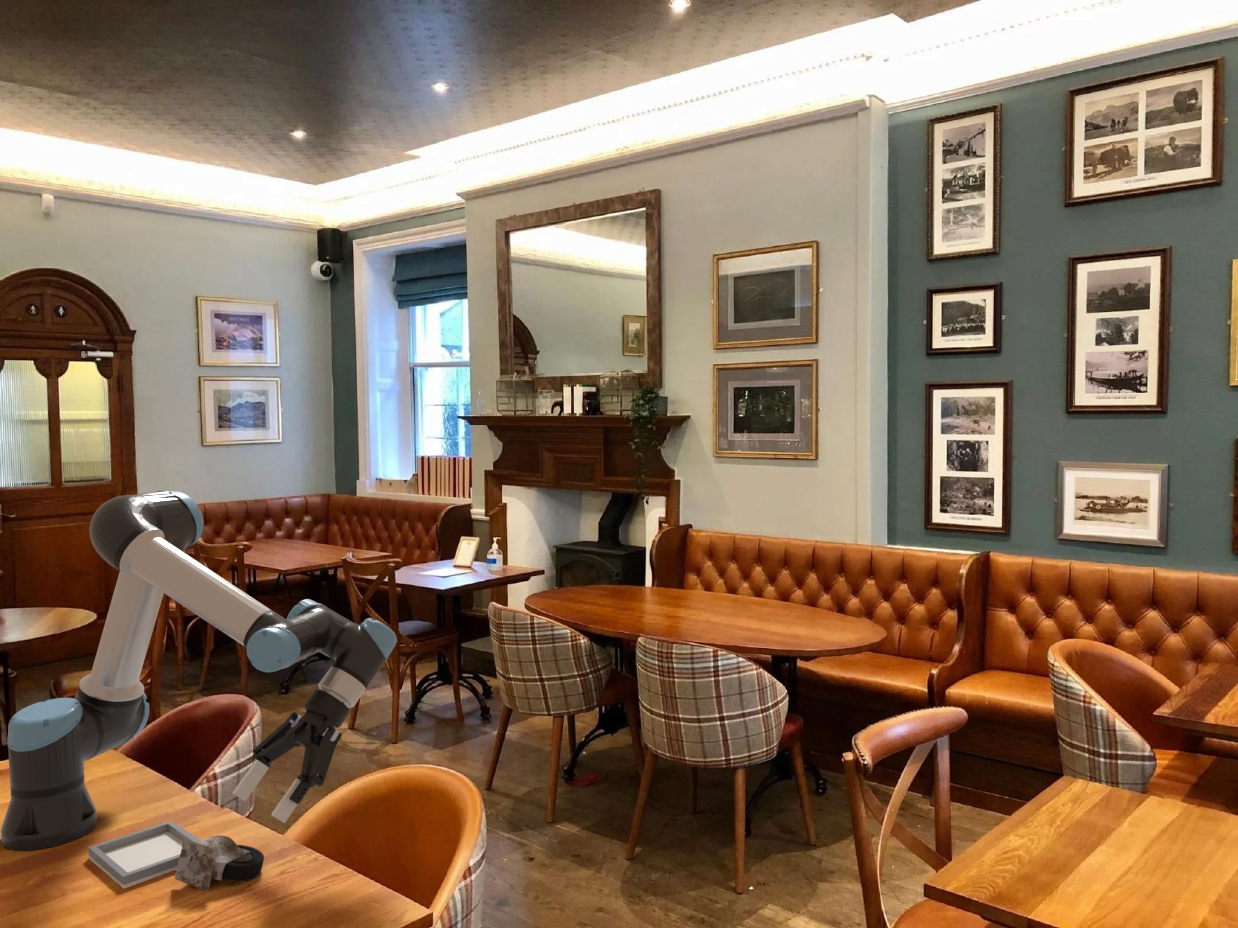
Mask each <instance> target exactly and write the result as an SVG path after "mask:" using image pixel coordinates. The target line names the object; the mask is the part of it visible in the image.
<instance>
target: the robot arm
mask: <svg viewBox="0 0 1238 928" xmlns="http://www.w3.org/2000/svg"><path fill="white" fill-rule="evenodd" d="M89 523H90V525H89V538H90V541H91V544H92V546H93V548H94V549H95V550H94V551H96V552H97V554H98V555H99V556H100V557H101V559H103V560H104V561H105V562H106V563H108V564H109V565H110V566H111V567H113V568H114V569H116V570H118V572H119V573H118V577H117V581H116V584H115V588H114V591H113V594H112V598H111V601H110V605H109V609H108V612H107V615H106V619H105V623H104V627H103V630H102V632H101V636H100V641H99V642H98V643H99V644H98V648H97V651H96V654H95V658H94V662H93V664H92V665H93V666H92V669H91V672H90V673H88V674H87V675H85V676H84V677H82V678H81V679H80V681H79V682H78V687H77V690H76V694H75V697H74V698H72V697H57V698H50V699H47V700H45V701H38V702H35V703H32V704H31V705H28V706H26V707H24V708H22V709H20V710H18V712H16V713H15V714H13V715H12V717H11V719H10V720H9V721H8V725H7V727H8V728H7V729H8V733H7V738H6V744H7V751H8V752H7V753H8V766H9V767H8V768H9V769H8V770H9V782H10V783H9V785H10V800H9V803H8V807H7V809H6V811H5V815H4V816H5V817H4V819H3V822H2V825H1V829H0V842H1V845H2V846H3V847H5V848H6V849H9V850H16V851H28V850H29V851H33V850H40V849H45V848H50V847H55V846H60V845H62V844H65V843H69V842H71V841H74V840H76V839H78V838H80V837H83V836H84V835H87V834H88V833H90V832H91V831H93V830H94V829H95V828H96V826H97V824H98V815H97V808H96V806H95V803H94V802H93V800H92V797H91V796H90V793H89V790H88V789H87V786H86V783H85V782H86V781H85V762H87V761H89V760H91V759H93V758H95V757H97V756H100V755H102V754H104V753H107V752H108V751H111V750H114V749H115V748H119V747H121V746H122V745H124V744H127V743H128V742H130V740H131V739H134V738H135V737H136V736H138V735H139V734H140V733H141V732H142V730H143V729H144V728H145V726H146V725H147V721H148V719H149V716H150V703H149V702H147V701H146V700H147V699H148V697H147V695H146V693H145V686H144V684H143V683H142V682H141V681H140V680H139V679H140V676H141V672H142V670H143V667H144V662H145V659H146V656H147V652H148V649H149V645H150V642H151V638H152V635H153V632H154V628H155V625H156V621H157V618H158V614H159V610H160V607H161V605H162V604H161V603H162V601H163V598H164V595H166V596H168V597H169V598H171V599H172V600H174V601H175V602H177V603H178V604H180V605H181V606H183V607H184V608H186V609H187V610H189V611H191V612H192V613H193V614H195V615H197V616H198V617H199V618H201V619H202V620H204V621H205V622H207V623H209V624H210V625H211V626H213V627H215V628H216V629H218V630H219V631H221V632H222V633H223V634H225V635H226V636H228V637H230V638H231V639H233V640H234V641H235V642H237V643H238V644H241V646H243V647H245V648H246V656H247V658H248V660H249V661H250V663H251V665H252V667H254V668H255V669H256V670H259V671H260V672H262V673H273V672H277V671H279V670H282V669H287V668H290V667H291V666H293V665H294V664H295V663H297V662H299V661H301V660H304V659H305V658H308V657H311V656H313V655H314V654H316V653H320V654H323V655H324V656H326V657H328V658H330V659H332V660H333V661H334V662H333V664H332V665H331V666H330V668H329V669H328V671H327V672H326V673H325V674H324V676H323V677H322V678H321V680H320V681H319V683H318V684H317V685H318V689H314V691H312V693H311V694H310V695H309V697H308V698H307V700H306V701H305V703H304V706H303V707H304V709H305V713H304V714H303V715H302V716H301V715H300V714H298V713H297V712H296V711H293V712H291V714H290V715H289V716H288V717H287V718H286V720H285V721H284V722H283V723H282V724H280V726H278V727H277V728H276V729H275V730H274V731H272V732H271V734H269V735H267V737H266V738H264V739H263V741H261V742H260V743H259V744H258V745H257V746H255V747H254V748H253V750H252V754H253V755H254V756H255V757H254V758H255V760H254V761H253V762H252V764H251V765H250V766H249V769H248V770H247V771H246V773H245V774H244V776H243V777H242V779H241V780H240V782H239V783H238V784H237V785H236V786H235V789H234V790H233V791H232V793H231V794H232V795H233V796H235V797H237V798H238V799H240V800H241V801H243V802H246V801H247V800H248V798H249V797H250V796H251V794H252V793H253V791H254V790H255V789H256V787H257V786H258V784H259V783H260V781H261V780H262V779H263V777H264V776H265V775H266V773H267V772H268V770H269V769H270V768H271V763H273V762H274V761H275V760H277V759H279V758H280V757H282V756H283V755H284V754H286V753H287V752H289V751H290V750H292V749H294V748H295V747H300V746H301V747H303V748H304V755H303V761H302V765H301V766H302V767H301V772H300V774H299V775H297V776H296V777H297V778H295V779H294V781H293V782H292V783H291V785H290V786H289V788H288V789H287V791H286V792H285V793H284V795H283V797H282V798H280V801H279V802H278V803H277V805H276V806H275V807H274V810H273V811H272V813H271V814H270V815H271V816H272V817H274V818H275V819H277V820H278V821H280V823H282V824H283V823H284V824H285V823H286V822H287V821H288V819H289V818H290V816H291V815H292V813H293V812H294V811H295V809H296V808H297V806H298V805H299V804H300V803H301V801H302V800H303V798H304V797H305V795H307V793H308V791H309V790H310V788H314V786H318V787H322V786H323V784H324V783H325V781H326V780H325V779H326V777H327V774H328V772H329V771H328V770H329V767H330V765H331V762H332V759H333V756H334V754H335V753H334V752H335V750H336V747H337V744H338V743H339V742H340V739H341V738H342V735H343V733H342V732H341V731H339V730H338V729H340V728H341V726H342V725H343V723H344V722H345V721H346V719H347V718H348V716H349V715H350V713H351V710H350V708H354V707H355V705H356V704H357V703H358V702H359V699H360V698H361V696H362V695H363V694H364V692H365V691H366V690H367V688H368V686H369V685H370V684H371V682H372V680H373V679H374V678H375V677H376V676H377V673H378V672H379V671H380V670H381V669H382V667H383V665H384V664H385V663H386V662H387V661H388V658H389V656H390V655H391V653H392V651H393V649H394V648H395V646H396V644H397V643H398V638H397V635H396V633H395V631H393V630H392V629H391V628H390V627H389V626H387V625H386V624H385V623H383V622H382V621H379V620H377V619H375V618H371V617H368V618H365V619H364V620H363V622H361V623H360V624H358V623H355V622H353V621H351V620H350V619H348V618H346V617H344V616H343V615H340V614H339V613H337V612H336V611H334V610H333V609H331V608H329V607H327V606H326V605H324V604H323V603H318V601H317V602H316V601H315V600H312V599H310V598H306V599H302V600H300V601H299V602H298V603H297V604H296V605H294V606H293V607H292V609H291V610H290V611H289V613H288V615H287V617H286V618H285V617H283V616H282V615H280V614H278V613H277V612H275V611H274V610H272V609H270V608H269V607H267V606H266V605H264V604H263V603H261V602H260V601H258V600H256V599H255V598H254V597H252V596H250V595H249V594H247V593H246V592H245V591H244V590H241V589H240V588H239V587H238V586H235V585H234V584H232V583H231V582H230V581H228V580H226V579H225V578H223V577H221V575H219V574H217V573H216V572H214V571H213V570H211V569H209V567H207V566H205V565H203V564H202V563H201V562H199V561H198V560H196V559H195V558H193V557H191V556H190V555H189V554H187V553H186V552H185V551H186V549H188V548H190V547H192V546H193V545H194V544H196V543H197V542H198V541H199V539H200V538H201V536H202V534H203V531H204V515H203V513H202V510H201V509H200V508H199V506H198V504H197V502H196V501H195V500H194V499H193V498H192V497H191V496H189V495H188V494H187V493H184V492H181V491H176V490H169V491H168V490H157V491H154V492H146V493H145V492H144V493H137V494H125V495H119V496H115V497H113V498H110V499H109V500H106V501H105V502H103V503H102V504H100V506H99V507H98V508H97V509H96V510H95V512H94V513H93V515H92V517H91V520H90V522H89Z"/></svg>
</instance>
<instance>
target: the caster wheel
mask: <svg viewBox="0 0 1238 928" xmlns="http://www.w3.org/2000/svg"><path fill="white" fill-rule="evenodd" d="M200 840H201V839H200ZM264 861H265V856H264V853H263V852H262V851H260V850H259V849H257V848H255V847H252V846H248V845H243V844H236V842H235V840H233V839H232V838H231V837H229V836H227V835H220V834H219V835H213V836H209V837H207V838H204V839H202V840H201V841H199V842H197V843H196V842H193V841H191V840H188V839H184V842H183V846H182V850H181V854H180V857H179V861H178V865H177V869H176V870H175V874H174V879H175V880H177V881H179V882H182V883H184V884H186V885H189V886H192V887H194V888H196V889H198V890H201V891H203V890H205V892H209V888H210V885H211V880H212V879H214V880H216V881H224V880H225V881H232V882H244V881H249V880H253V879H255V878H257V877H258V876H260V875H261V873H262V868H263V864H264Z"/></svg>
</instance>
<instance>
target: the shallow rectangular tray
mask: <svg viewBox="0 0 1238 928" xmlns="http://www.w3.org/2000/svg"><path fill="white" fill-rule="evenodd" d="M184 839H188V840H191V841H193V842H196V843H197V842H199V841H201V839H200V838H198V837H196V836H195V835H193V834H192V833H191V832H189V831H188V830H186V829H185V828H183V827H182V826H181V825H178V823H176V822H174V821H173V820H168V821H166V822H163V823H159V824H156V825H153V826H150V827H147V828H144V829H141V830H137V831H134V832H132V833H128V834H125V835H122V836H119V837H118V836H117V837H116V838H113V839H109V840H106V841H103V842H100V843H97V844H94V845H93V844H92V845H90V846H88V847H87V848H88V851H87V852H88V859H89V860H90V861H91V862H92V863H93V864H94V865H96V866H97V867H98V868H99V869H100V870H101V871H103V872H104V873H105V874H106V875H107V876H108V877H109V878H110V879H112V880H113V881H114V882H115V883H116V884H118V885H119V886H120V887H121V888H122V889H127V888H131V887H133V886H136V885H138V884H142V883H143V882H147V881H149V880H152V879H154V878H157V877H161V876H164V875H165V874H169V873H172V872H174V871H175V872H176V869H177V865H178V861H179V857H180V854H181V850H182V846H183V842H184Z"/></svg>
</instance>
